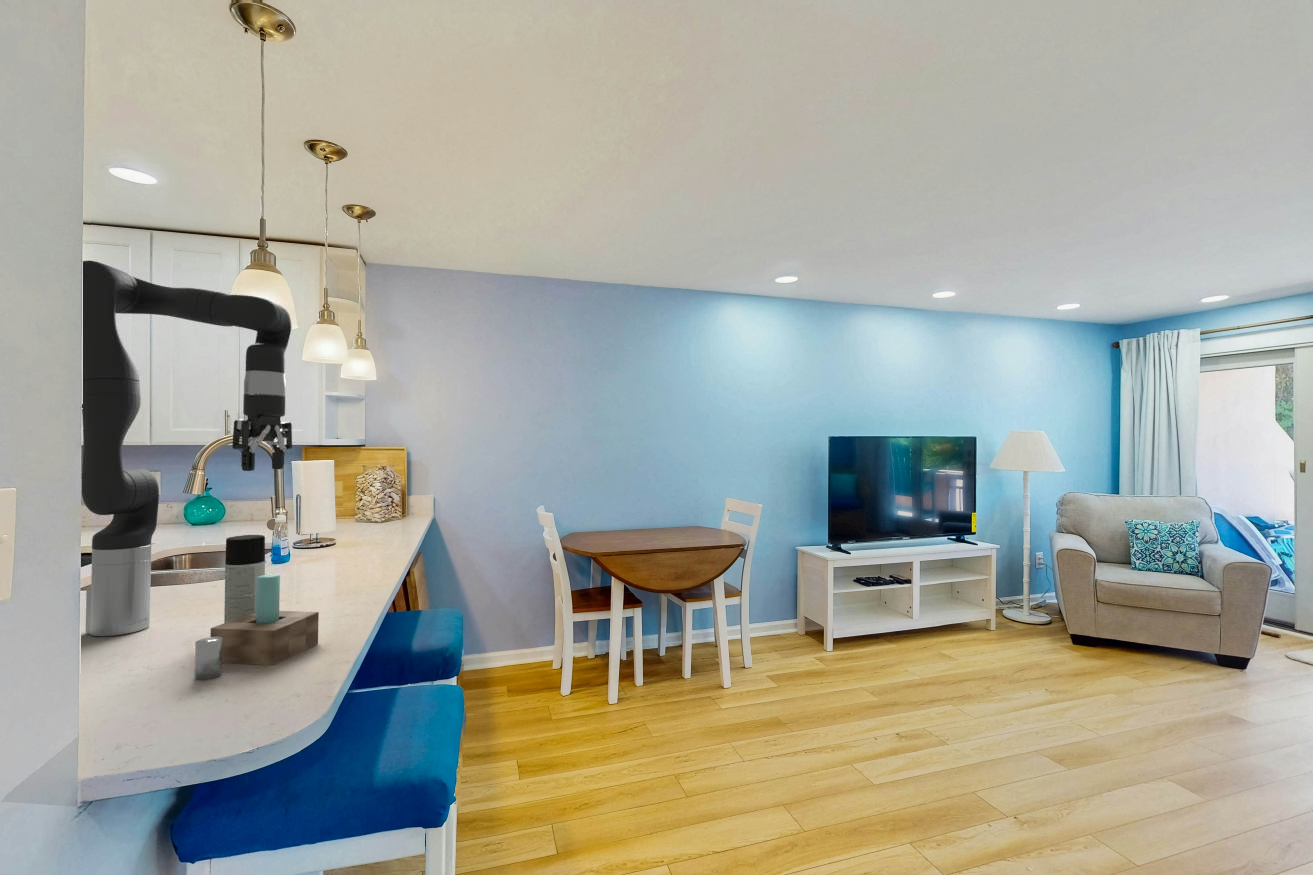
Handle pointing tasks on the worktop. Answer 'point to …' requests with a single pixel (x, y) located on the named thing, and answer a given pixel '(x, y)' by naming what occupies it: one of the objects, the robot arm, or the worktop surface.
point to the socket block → (267, 637)
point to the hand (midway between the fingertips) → (263, 469)
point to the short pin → (208, 658)
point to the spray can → (242, 574)
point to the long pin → (268, 599)
